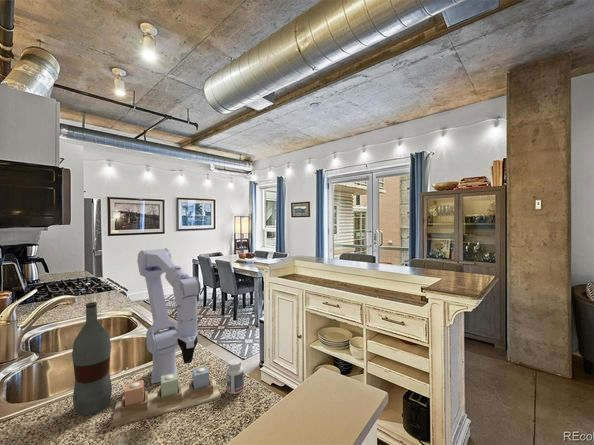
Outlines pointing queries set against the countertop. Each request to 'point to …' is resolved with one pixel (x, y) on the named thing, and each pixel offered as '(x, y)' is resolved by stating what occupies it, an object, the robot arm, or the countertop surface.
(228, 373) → the pill bottle
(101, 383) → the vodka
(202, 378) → the slate-blue block
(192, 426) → the countertop surface
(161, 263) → the robot arm
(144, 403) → the birch board
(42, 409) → the countertop surface
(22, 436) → the countertop surface
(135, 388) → the terracotta block
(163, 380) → the sage block
